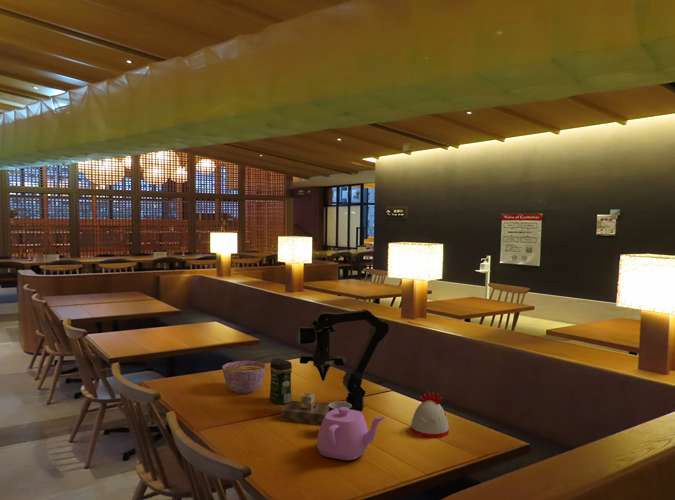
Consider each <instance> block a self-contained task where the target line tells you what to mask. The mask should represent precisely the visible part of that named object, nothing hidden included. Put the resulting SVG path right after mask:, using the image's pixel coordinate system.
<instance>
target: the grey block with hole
mask: <svg viewBox="0 0 675 500" xmlns="http://www.w3.org/2000/svg"><path fill="white" fill-rule="evenodd" d="M329 404H330V403H328V404H327V403H319V402H314V405H315V406H314V409H313V410H303V409H301V401H298V400H291V401H290V402H289V403H287V404H285V406H284V407H282V409H281V410H280V420H281V421H284V422H285V421H286V422H293V423H294V422H295V423H303V424H304V423H305V424H309V425H310V424H312V425H320V426H321V424H322V422H323V419H324V417H325V415H326V414H327V413H328V412H329V406H328V405H329Z"/></svg>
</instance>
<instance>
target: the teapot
mask: <svg viewBox="0 0 675 500" xmlns="http://www.w3.org/2000/svg"><path fill="white" fill-rule="evenodd" d="M385 419H386V416H378V417H375V418H374V419H373V420H372V421H371V425H370V428H368V425H367V422H366V419H365V416H364V414H363V412H362V411H356V410H350V409H349V408H347V407H340V408H337V409H334V410H331V411H330V412H328V413H327V414H326V415H325V417H324V419H323V422H322V424H321V425H320V426H319V429H318V434H317V441H316V448H317V450H318V452H319V454H320V455H321V456H323V457H326V458H330V459H335V460H341V461H342V460H343V461H353V460H356V459H358V458H360V457H361V456H362V455H363V454H364V453H365V451H366V450H367V447H368V446H369V445H370V444H371V443H373V442H374V439H375V437H376V435H377V429H378V426H379V423H380V422H381V421H383V420H385Z"/></svg>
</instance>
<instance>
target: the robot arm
mask: <svg viewBox="0 0 675 500" xmlns="http://www.w3.org/2000/svg"><path fill="white" fill-rule="evenodd" d="M357 321H365V322H366V323H367V324H368V325H369V326H370V328H369V331H368V332H369V333H368V338H367V341H366V343H365V345H364V346H363V348H362V351H361V352H360V355H359V356H358V358H357V360H356V362H355V364H354V365H353V367H352V368H351V369H350V370H349V369H346V371H345V373H344V376H342V384H343V387H344V388H345V389H346V390H347V392H348V393H347V396H346V401H345V402H347V403H350V404H351V405H352V406H353V410H356V411H360V412H362V411H363V410H364V408H365V404H364V398H365V395H366V393H367V392H366V390H364V388H362V387H361V386H362V383H363V378H364V377H363V375H364V372H365V370H366V369H367V366H368V364H369V362H370V360H371V359H372V356H373V354H374V352H375V350H376V348H377V346H378V344H379V343H380V342H382V340H384V338H385V337H386V336H387V334H388V333H389V331H390V325H389V324H388V323H387V322H386V321H383V320H381V319H379V318H378V317H377V316H375V315H374V314H373V313H372V312H371V311H370V310H368V309H360V310H351V311H350V310H349V311H343V312H342V311H341V312H332V311H325V310H323V311H318V312H317V313H316V315H315V316H314V320H313V321H312V322H311V324H310V326H307V327H304V326H299V327H298V331H297V334H296V335H297V343H298V345H309V344H310V345H311V344H314V343H315V344H316V345H315V351H314V353H313V354H311V353H303V354H301V356H300V357H299V364H305V365H307V364H308V363H309V362H312V365H313V367H315V368H316V369H317V370H318V372H319V375H320V378H321V381H323V382H324V381H325V380H326V378H327V374H328V371H329V369H330V367H332V366H333V365H335V366H338V367H340V366H341V367H344V366H345V365H346V364H347V362H348V358H347V356H346V355H336V357H332V356H331V345H332V344H331V333H334V332H336V330H335V329H334V328H333V327H332V326H335V325H336V324H339V323H340V324H341V323H347V322H348V323H349V322H350V323H351V322H357Z"/></svg>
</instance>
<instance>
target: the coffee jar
mask: <svg viewBox="0 0 675 500" xmlns="http://www.w3.org/2000/svg"><path fill="white" fill-rule="evenodd" d="M292 367H293V366H292V362H291V361H289V360H287V359H284V358H282V357H277V358H272V360H270V365H269V369H270V370H269V371H270V386H269V387H270V388H269V400H270V402H272V403H274V404H276V405H287V404H288V403H289V402H290V401H292V370H293V368H292Z"/></svg>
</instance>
